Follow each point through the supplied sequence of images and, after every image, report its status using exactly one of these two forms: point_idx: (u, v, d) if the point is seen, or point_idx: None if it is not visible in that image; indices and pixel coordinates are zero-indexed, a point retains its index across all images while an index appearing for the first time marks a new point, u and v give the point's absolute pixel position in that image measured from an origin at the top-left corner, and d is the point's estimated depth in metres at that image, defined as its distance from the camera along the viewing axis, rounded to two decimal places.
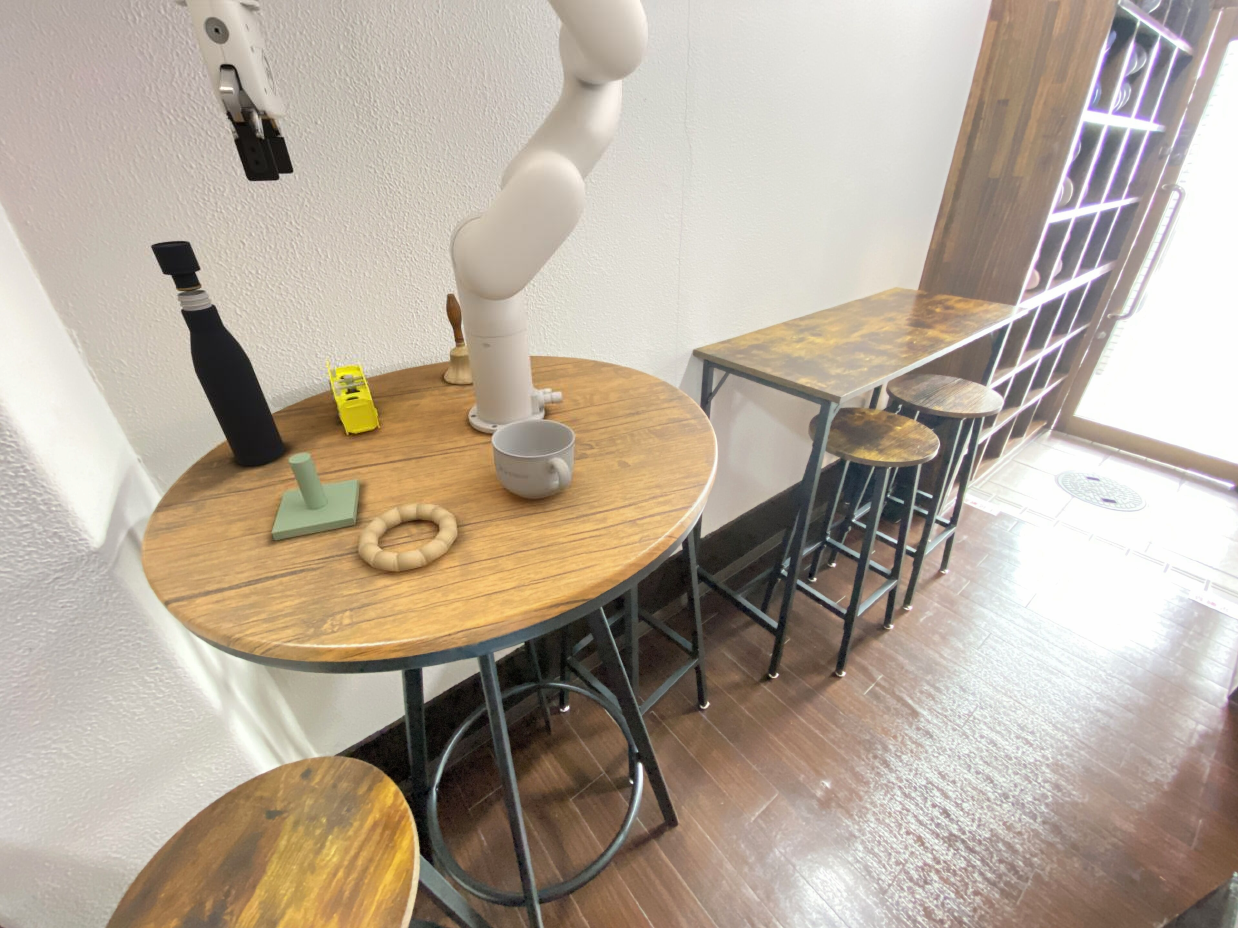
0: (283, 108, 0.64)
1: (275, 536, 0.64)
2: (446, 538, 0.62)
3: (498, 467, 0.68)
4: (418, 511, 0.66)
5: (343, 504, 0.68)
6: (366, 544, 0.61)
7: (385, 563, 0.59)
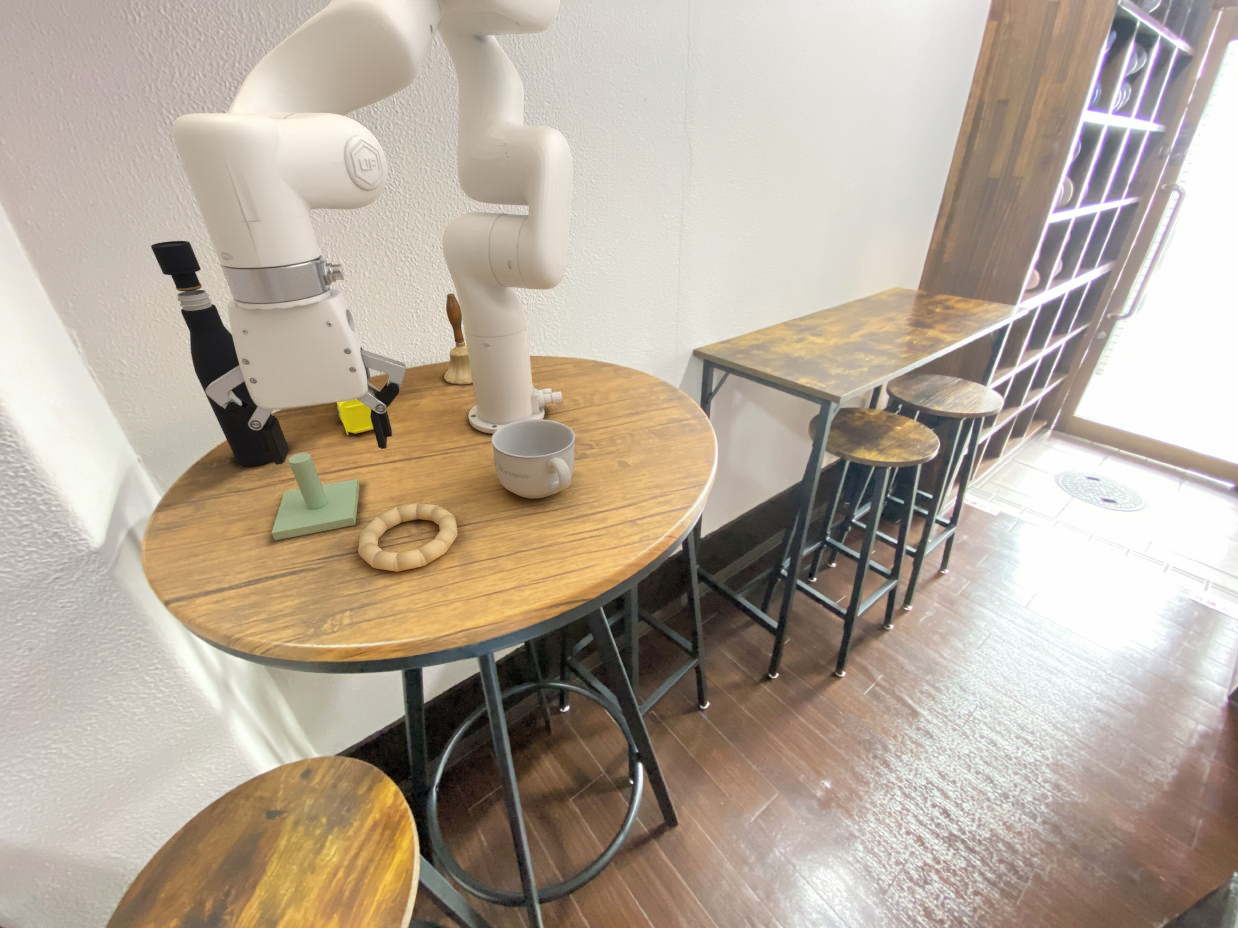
0: None
1: (275, 536, 0.64)
2: (446, 538, 0.62)
3: (498, 467, 0.68)
4: (418, 511, 0.66)
5: (343, 504, 0.68)
6: (366, 544, 0.61)
7: (385, 563, 0.59)
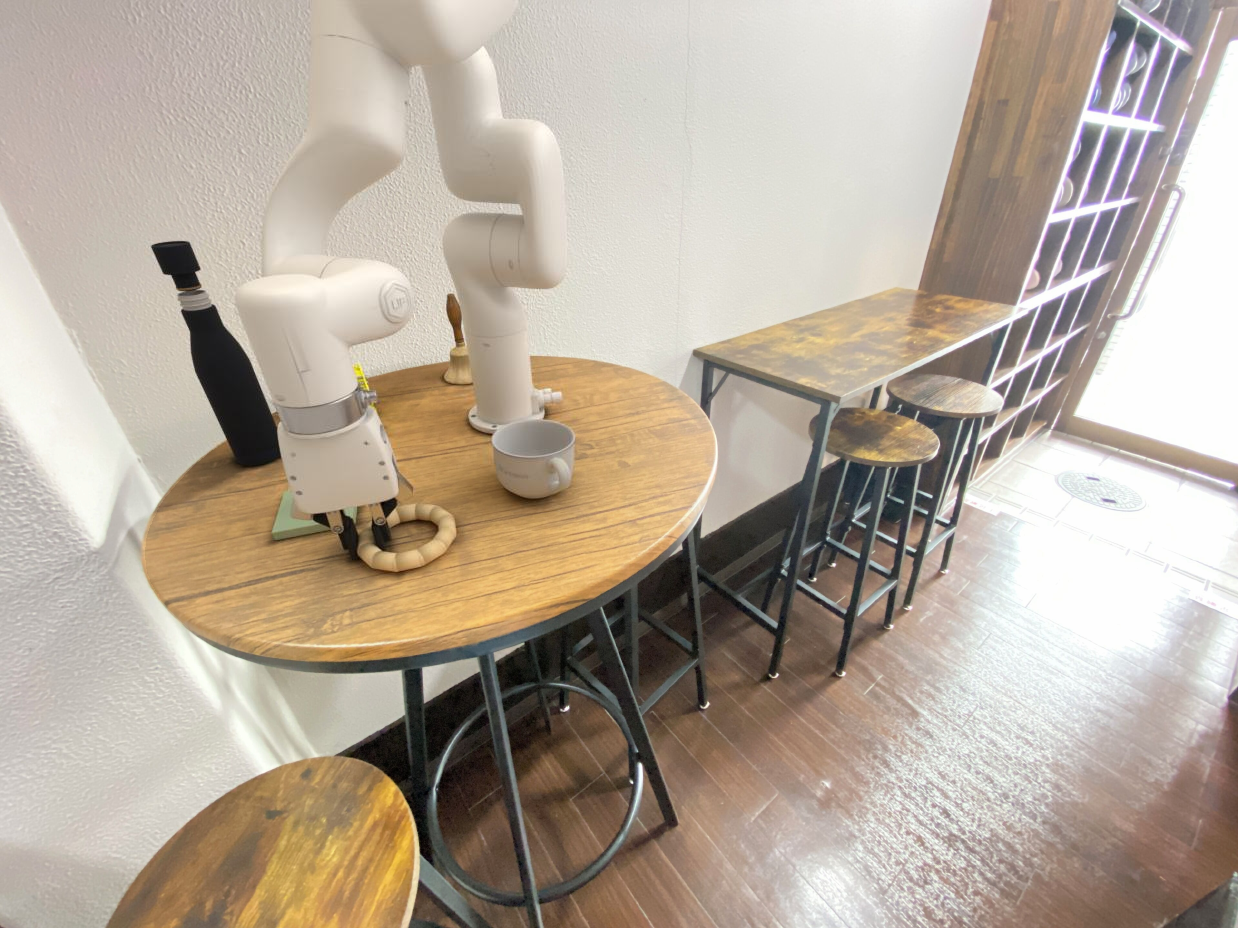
0: None
1: (275, 536, 0.64)
2: (445, 538, 0.62)
3: (498, 467, 0.68)
4: (417, 511, 0.66)
5: None
6: (365, 544, 0.60)
7: (384, 563, 0.59)
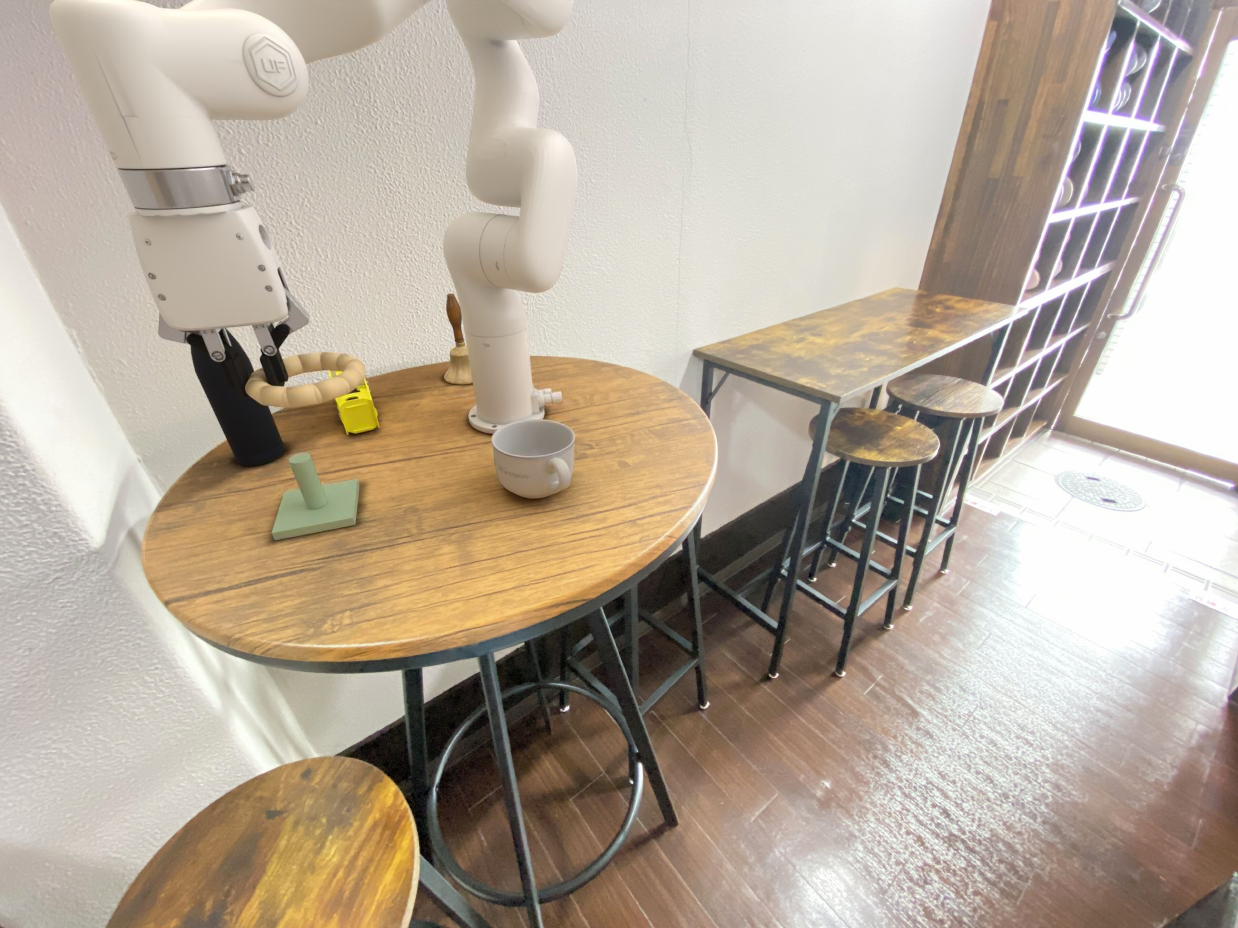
0: None
1: (275, 536, 0.64)
2: (348, 377, 0.54)
3: (498, 467, 0.68)
4: (322, 359, 0.59)
5: (343, 504, 0.68)
6: (254, 380, 0.53)
7: (273, 396, 0.51)
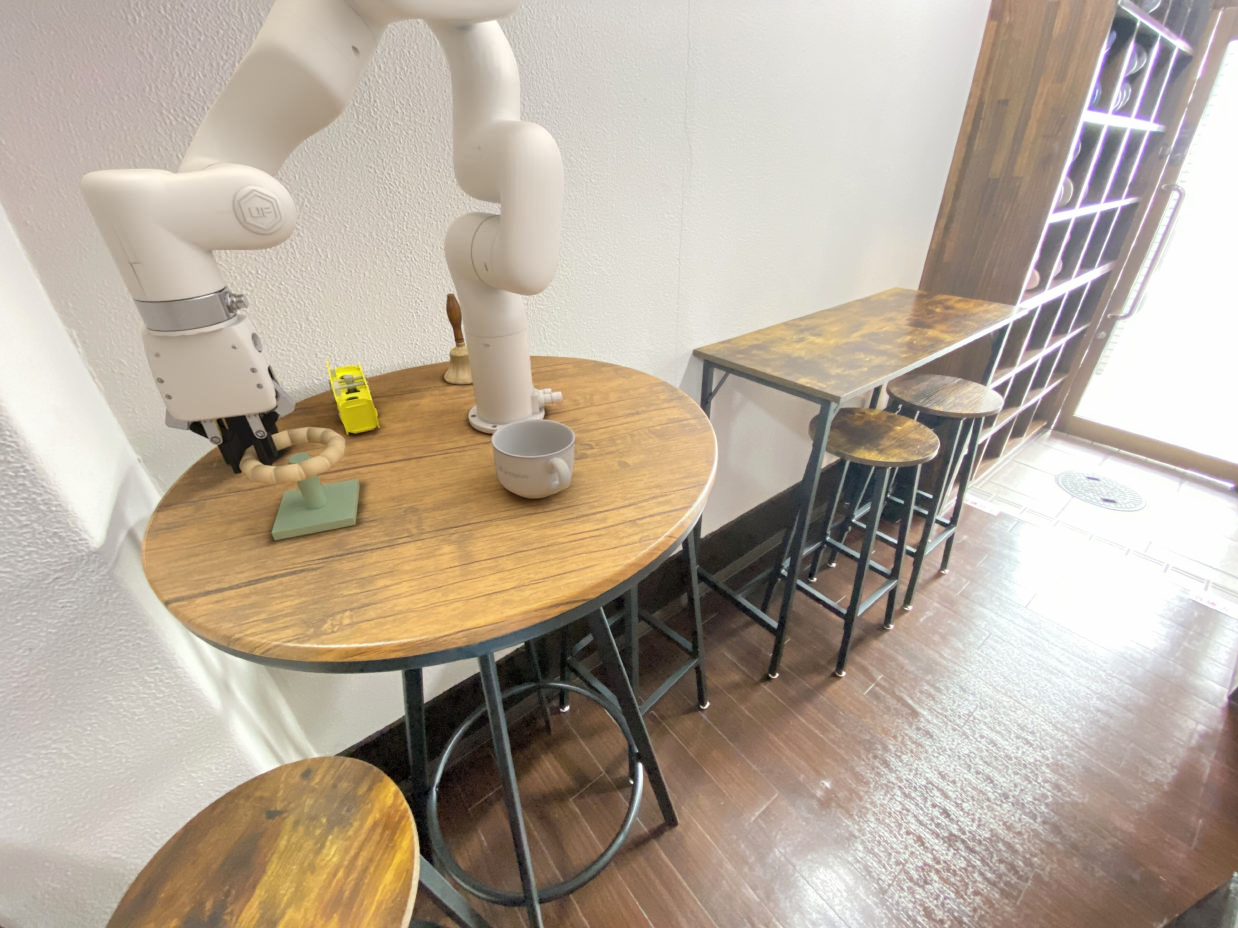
0: None
1: (275, 536, 0.64)
2: (329, 455, 0.62)
3: (498, 467, 0.68)
4: (308, 434, 0.67)
5: (343, 504, 0.68)
6: (247, 459, 0.61)
7: (262, 475, 0.59)
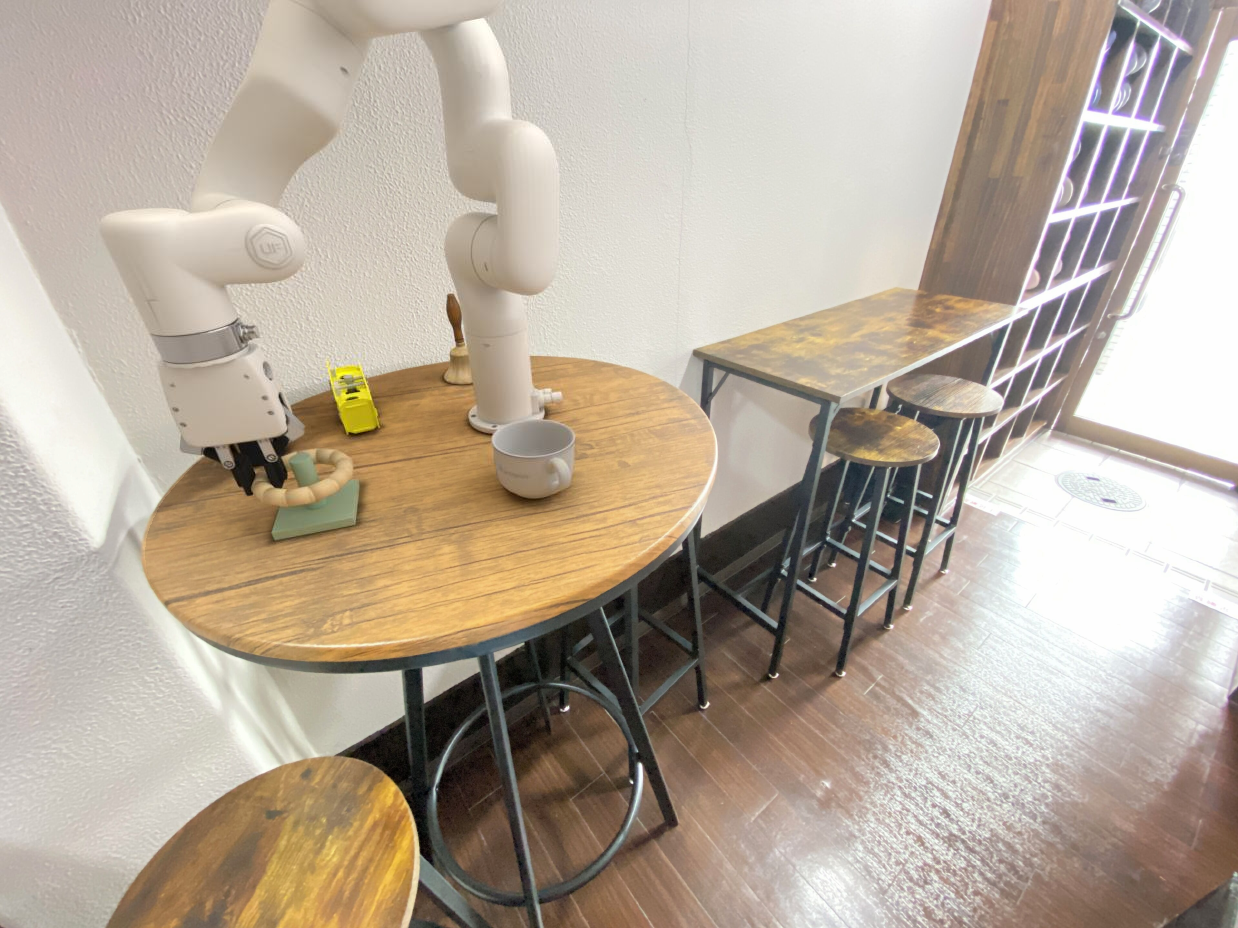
0: None
1: (275, 536, 0.64)
2: (338, 477, 0.64)
3: (498, 467, 0.68)
4: (317, 455, 0.69)
5: (343, 504, 0.68)
6: (258, 482, 0.63)
7: (274, 498, 0.61)
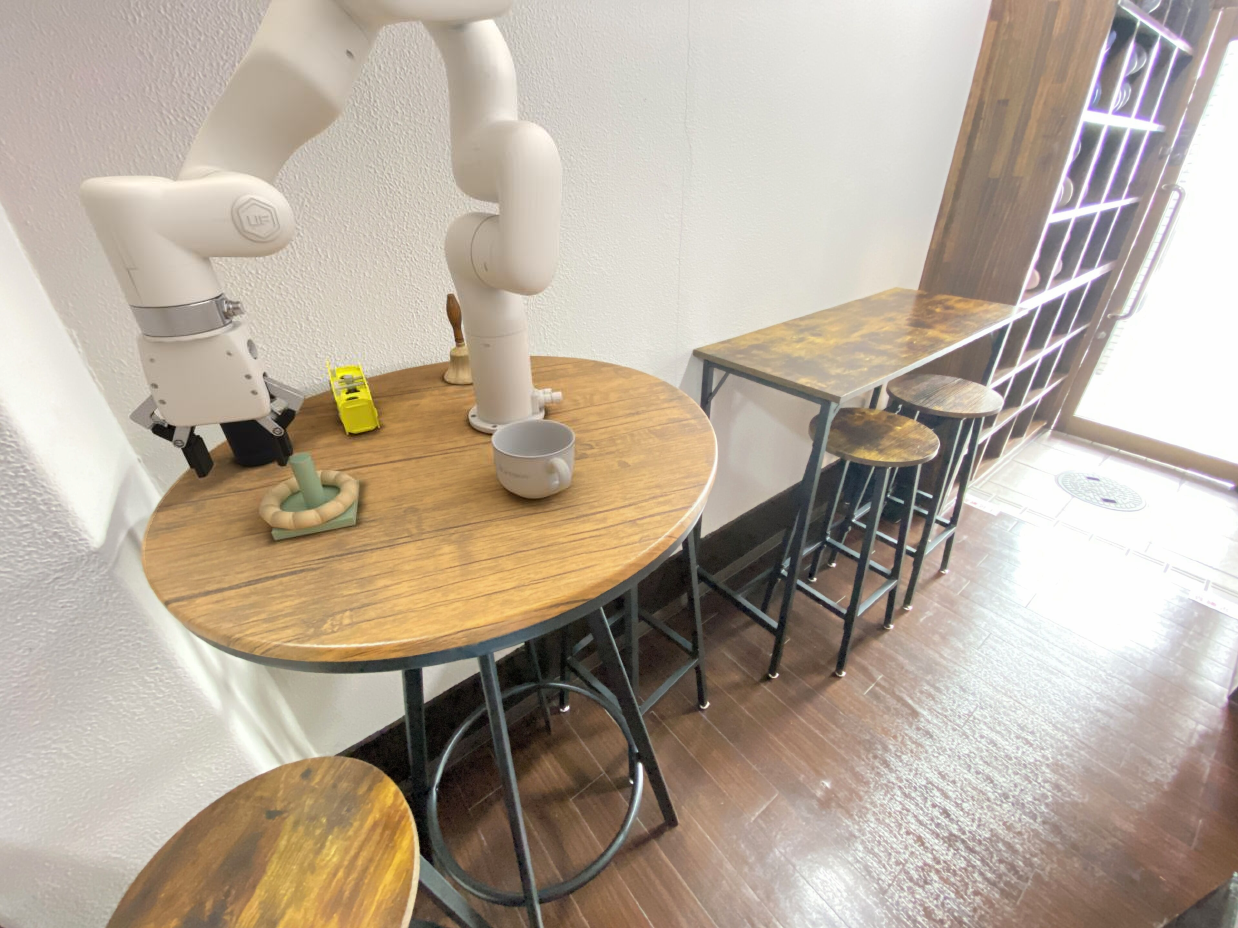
0: None
1: (275, 536, 0.64)
2: (343, 499, 0.66)
3: (498, 467, 0.68)
4: (322, 477, 0.70)
5: None
6: (266, 505, 0.65)
7: (281, 521, 0.63)
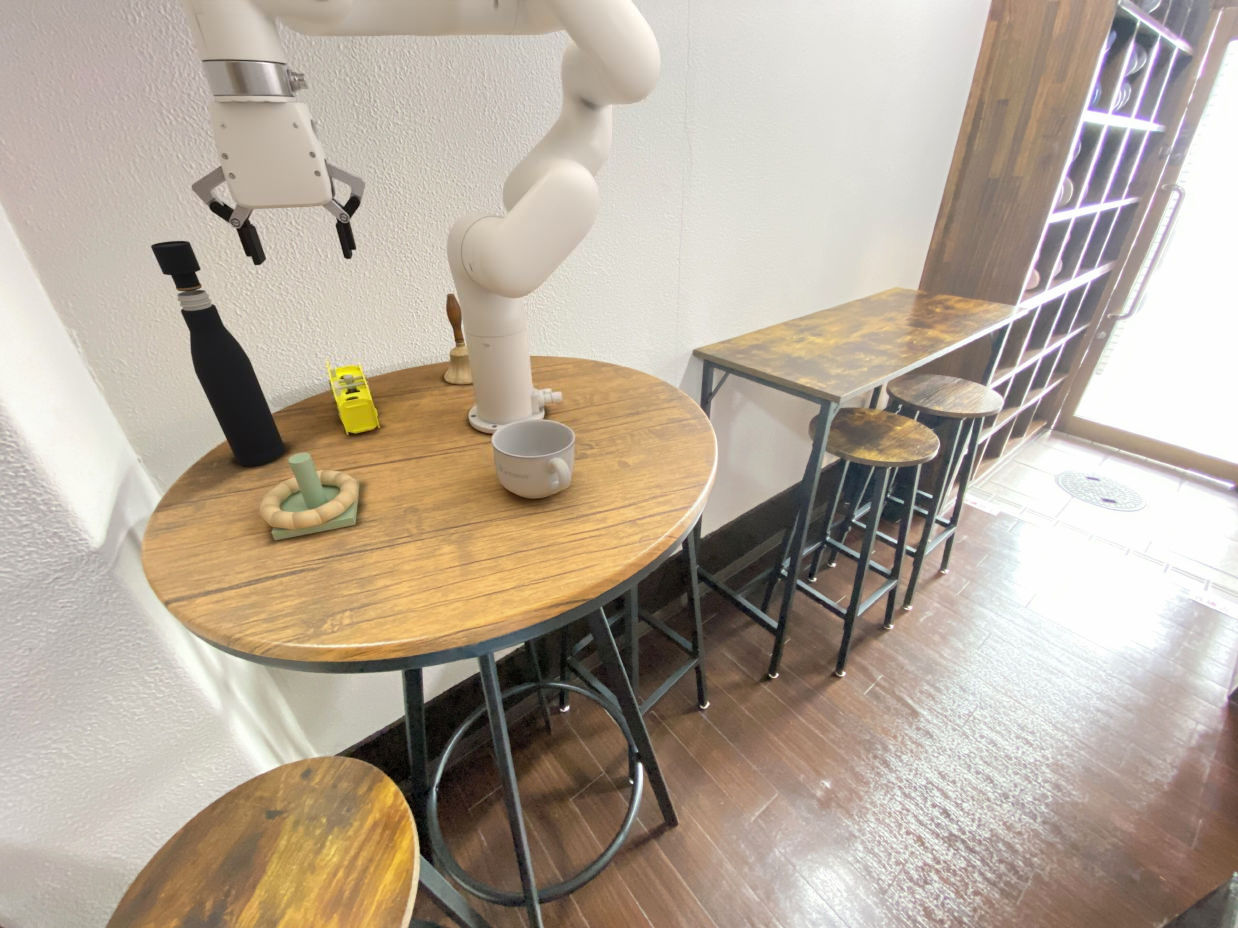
0: None
1: (275, 536, 0.64)
2: (343, 499, 0.66)
3: (498, 467, 0.68)
4: (322, 477, 0.70)
5: None
6: (266, 505, 0.65)
7: (281, 521, 0.63)
